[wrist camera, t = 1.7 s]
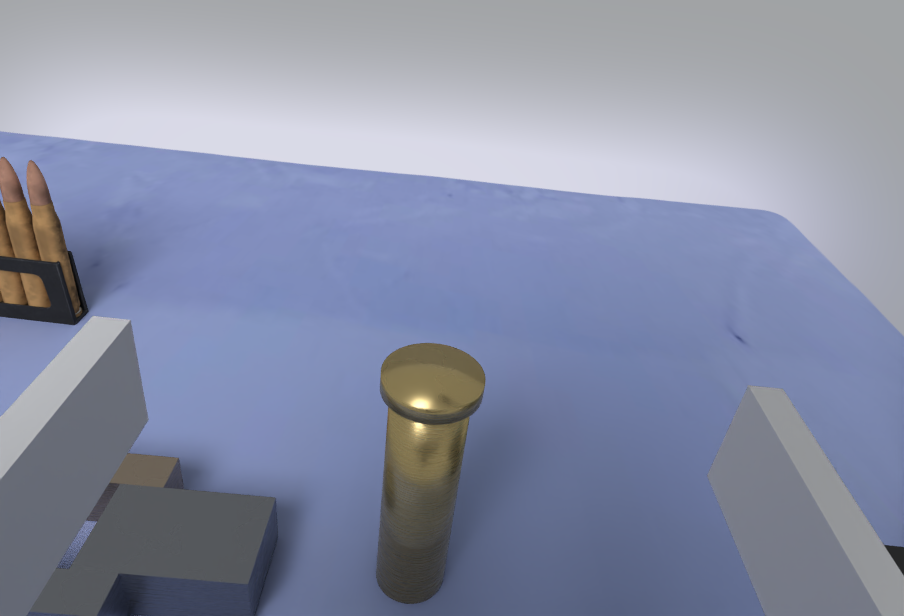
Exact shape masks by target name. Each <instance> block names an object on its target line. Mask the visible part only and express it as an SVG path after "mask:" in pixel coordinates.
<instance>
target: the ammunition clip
mask: <svg viewBox="0 0 904 616" xmlns="http://www.w3.org/2000/svg"><path fill="white" fill-rule="evenodd" d="M27 188H28V194H29V198H30V205H31V210H32V214H31V212H30V210H29V208H28V205H27V202H26V199H25V197H24V194H23V190H22V187H21V184H20V182H19V179H18V177H17V175H16V173H15V171H14V169H13V167H12V166H11V164H10V163H9V162H8V160H7V159H6V158H5V157H1V159H0V189H1V193H2V197H3V203H4V207H5V210H4V208H3V206H2V204H1V201H0V317H9V318H17V319H26V320H35V321H43V322H52V323H60V324H69V325H75V324H77V323H78V321H79V320H80V319H81V318H82V317H83V316H84V315H85V314H86V313H87V312H88V308H87V305H86V301H85V298H84V295H83V291H82V287H81V284H80V280H79V277H78V273H77V269H76V266H75V262H74V259H73V255H72V252H71V251H67V248H66V244H65V240H64V235H63V231H62V227H61V223H60V220H59V218H58V216H57V214H56V212H55V209H54V206H53V202H52V200H51V197H50V193H49V190H48V187H47V184H46V181H45V179H44V177H43V175H42V173H41V171H40V169H39V168H38V166H37V165H36V164H35V163H34V162H33V161H32V160H30V161H29V163H28V166H27Z"/></svg>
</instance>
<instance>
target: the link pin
mask: <svg viewBox="0 0 904 616" xmlns="http://www.w3.org/2000/svg"><path fill="white" fill-rule="evenodd" d="M484 387H485V374H484V371H483V369H482V367H481V366H480V364H479V363H478V362H477V361H476V360H475V359H474V358H473V357H471V356H470V355H469V354H467V353H465V352H463V351H461V350H459V349H457V348H454V347H451V346H447V345H442V344H435V343H420V344H413V345H408V346H405V347H402V348H400V349H398V350H396V351H394V352H393V353H391V354H390V355H389V356H388V357H387V358H386V359H385V361H384V362H383V364H382V368H381V379H380V393H381V396H382V398H383V400H384V402H385V403H386V405H387V406H388V420H387V433H386V447H385V460H384V474H383V487H382V501H381V514H380V528H379V541H378V555H377V568H376V578H377V582H378V584H379V586H380V588H381V589H382V591H383V592H384V593H385V594H386V595H387V596H388V597H390V598H391V599H393V600H395V601H398V602H401V603H407V604H414V603H420V602H423V601H426V600H427V599H429V598H431V597H432V596H433V595H434V594H436V592H437V591H438V590H439V588H440V587H441V584H442V581H443V576H444V570H445V564H446V557H447V551H448V545H449V539H450V533H451V527H452V521H453V515H454V508H455V502H456V496H457V490H458V484H459V478H460V472H461V466H462V459H463V453H464V447H465V441H466V435H467V429H468V423H469V417H470V416H471V415H472V414H473V413H474V412H475V411H476V410H477V409H478V408H479V406H480V404H481V402H482V398H483V393H484Z"/></svg>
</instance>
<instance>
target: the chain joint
mask: <svg viewBox="0 0 904 616" xmlns="http://www.w3.org/2000/svg"><path fill="white" fill-rule="evenodd" d="M86 520H88V521H97V523H96V525H95V527H94V528H93V530H92V532H91V533H90V535H89V537H88V538H87V540H86V542H85V543H84V545H83V547H82V548H81V550H80V552H79V553H78V555H77V557H76V558H75V560H74V562H73V563H72V565H71V567H70V568H69V569H62V568H56V569H55V571H54V572H53V574H52V576H51V577H50V579H49V580H48V582H47V584H46V585H45V587H44V588H43V590H42V592H41V593H40V595H39V597H38V598H37V600H36V601H35V603H34V605H33V606H32V608H31V609H30V611H29V613H28V614H27V616H129V615H142V616H254V615H255V612H256V609H257V605H258V602H259V599H260V595H261V592H262V589H263V585H264V582H265V579H266V575H267V572H268V568H269V565H270V562H271V558H272V555H273V552H274V548H275V545H276V542H277V538H278V531H277V512H276V498H273V497H262V496H251V495H240V494H229V493H218V492H207V491H196V490H185V489H184V487H183V481H182V475H181V469H180V462H179V458H174V457H163V456H152V455H141V454H130V453H128V454H127V455H126V457H125V458H124V460H123V462H122V463H121V465H120V466H119V468H118V470H117V471H116V473H115V474H114V476H113V478H112V479H111V481H110V482H109V484H108V486H107V487H106V489H105V491H104V492H103V494H102V495H101V497H100V499H99V500H98V502H97V503H96V505H95V507H94V508H93V510H92V511H91V513H90V515H89V516H88V518H87V519H86Z"/></svg>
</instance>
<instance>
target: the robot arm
mask: <svg viewBox="0 0 904 616" xmlns="http://www.w3.org/2000/svg"><path fill="white" fill-rule="evenodd" d="M147 421H148V415H147V409H146V404H145V398H144V392H143V387H142V381H141V376H140V370H139V365H138V359H137V353H136V348H135V342H134V337H133V331H132V326H131V320H125V319H116V318H106V317H97V316H93V317H92V318H91V319H90V320H89V321H88V322H87V323H86V324H85V325H84V326H83V328H82V329H81V330H80V331H79V332H78V333H77V334H76V335H75V336H74V337H73V338H72V340H71V341H70V342H69V343H68V344H67V345H66V346H65V347H64V348H63V349H62V350H61V352H60V353H59V354H58V355H57V356H56V357H55V358H54V359H53V360H52V361H51V362H50V364H49V365H48V366H47V367H46V368H45V369H44V370H43V371H42V372H41V373H40V375H39V376H38V377H37V378H36V379H35V380H34V381H33V382H32V383H31V384H30V385H29V387H28V388H27V389H26V390H25V391H24V392H23V393H22V394H21V395H20V396H19V397H18V399H17V400H16V401H15V402H14V403H13V404H12V405H11V406H10V407H9V408H8V410H7V411H6V412H5V413H4V414H3V415H2V416H1V417H0V616H27V614H28V613H29V611H30V609H31V608H32V606H33V605H34V603H35V601H36V600H37V598H38V597H39V595H40V593H41V592H42V590H43V588H44V587H45V585H46V584H47V582H48V580H49V579H50V577H51V576H52V574H53V572H54V571H55V569H56V568H57V566H58V564H59V563H60V561H61V560H62V558H63V556H64V555H65V553H66V552H67V550H68V548H69V547H70V545H71V544H72V542H73V540H74V539H75V537H76V535H77V534H78V532H79V531H80V529H81V527H82V526H83V524H84V523H85V521H86V519H87V518H88V516H89V515H90V513H91V511H92V510H93V508H94V507H95V505H96V503H97V502H98V500H99V499H100V497H101V495H102V494H103V492H104V491H105V489H106V487H107V486H108V484H109V482H110V481H111V479H112V478H113V476H114V474H115V473H116V471H117V470H118V468H119V466H120V465H121V463H122V462H123V460H124V458H125V457H126V455H127V454H128V452H129V450H130V449H131V447H132V446H133V444H134V442H135V441H136V439H137V438H138V436H139V434H140V433H141V431H142V429H143V428H144V426H145V425H146V423H147ZM707 477H708V479H709V481H710V484H711V486H712V489H713V491H714V493H715V496H716V498H717V501H718V503H719V505H720V508H721V510H722V513H723V515H724V517H725V520H726V522H727V525H728V527H729V529H730V532H731V534H732V537H733V539H734V541H735V544H736V546H737V549H738V551H739V553H740V556H741V558H742V561H743V563H744V565H745V568H746V570H747V573H748V575H749V577H750V580H751V582H752V585H753V587H754V589H755V592H756V594H757V597H758V599H759V601H760V604H761V606H762V609H763V611H764V613H765V616H904V547H898V546H888V545H883V543H882V542H881V540H880V538H879V537H878V535H877V534H876V532H875V531H874V529H873V528H872V526H871V525H870V523H869V521H868V520H867V518H866V517H865V515H864V514H863V512H862V511H861V509H860V508H859V506H858V504H857V503H856V501H855V500H854V498H853V497H852V495H851V494H850V492H849V491H848V489H847V487H846V486H845V484H844V483H843V481H842V480H841V478H840V477H839V475H838V474H837V472H836V470H835V469H834V467H833V466H832V464H831V463H830V461H829V460H828V458H827V457H826V455H825V453H824V452H823V450H822V449H821V447H820V446H819V444H818V443H817V441H816V440H815V438H814V436H813V435H812V433H811V432H810V430H809V429H808V427H807V426H806V424H805V423H804V421H803V419H802V418H801V416H800V415H799V413H798V412H797V410H796V409H795V407H794V406H793V404H792V402H791V401H790V399H789V398H788V396H787V395H786V393H785V392H784V390H783V389H778V388H768V387H759V386H749V385H748V387H747V389H746V391H745V394H744V396H743V398H742V400H741V402H740V405H739V407H738V409H737V411H736V413H735V416H734V418H733V420H732V422H731V424H730V427H729V429H728V431H727V433H726V435H725V438H724V440H723V442H722V444H721V446H720V449H719V451H718V453H717V455H716V457H715V459H714V462H713V464H712V466H711V468H710V470H709V473H708V475H707Z"/></svg>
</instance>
